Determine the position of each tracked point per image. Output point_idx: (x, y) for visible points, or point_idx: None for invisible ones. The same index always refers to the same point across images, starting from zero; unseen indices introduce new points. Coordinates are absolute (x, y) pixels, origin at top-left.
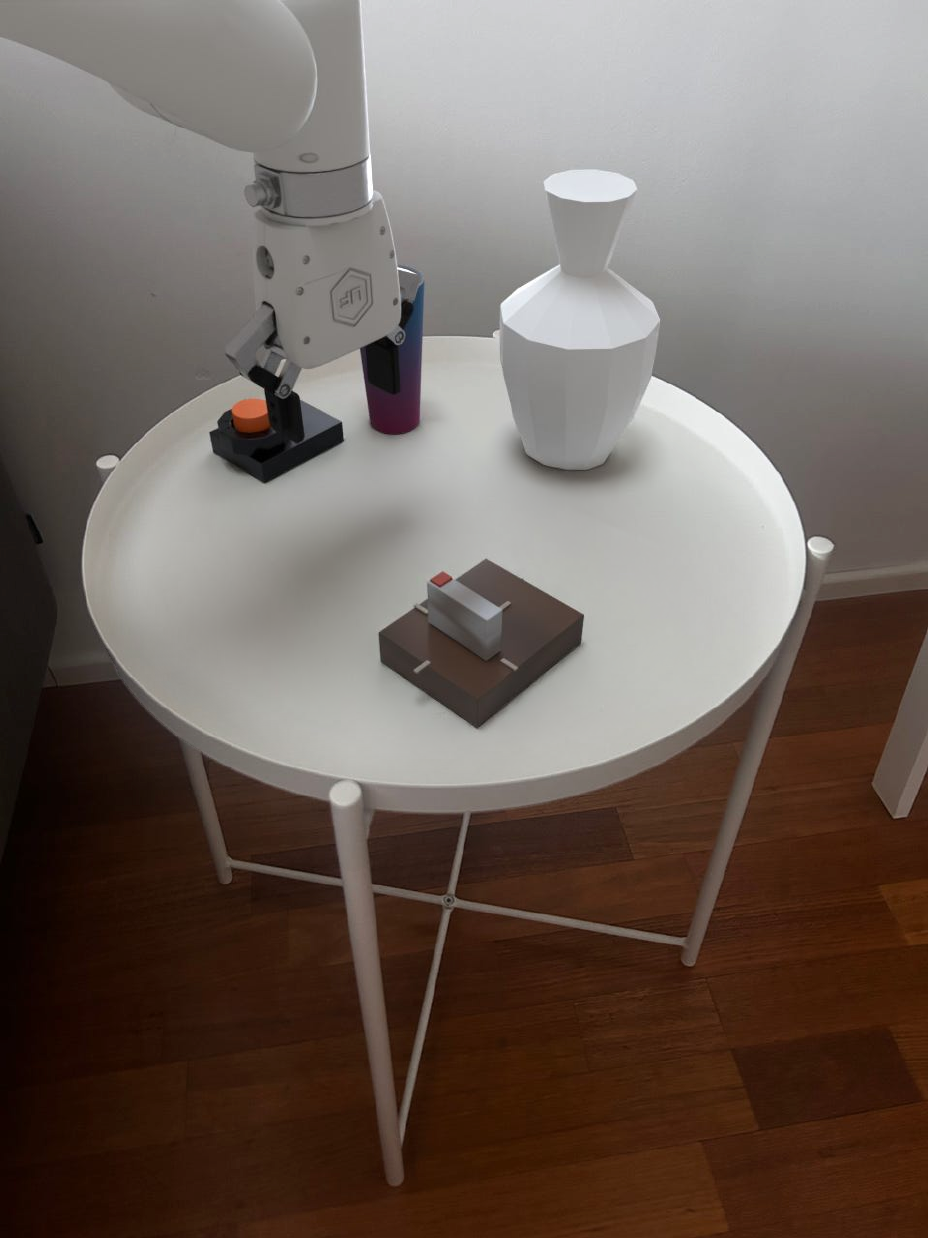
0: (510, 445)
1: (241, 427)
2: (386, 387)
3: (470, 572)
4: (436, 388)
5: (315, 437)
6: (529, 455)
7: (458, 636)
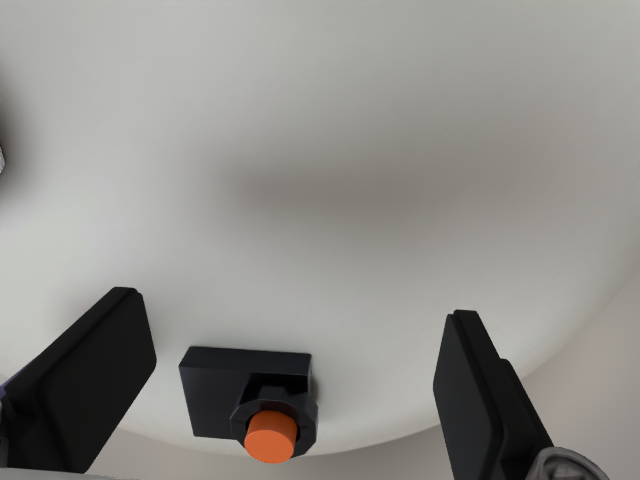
0: (15, 196)
1: (294, 430)
2: (138, 316)
3: None
4: (36, 341)
5: (223, 367)
6: (2, 157)
7: None
